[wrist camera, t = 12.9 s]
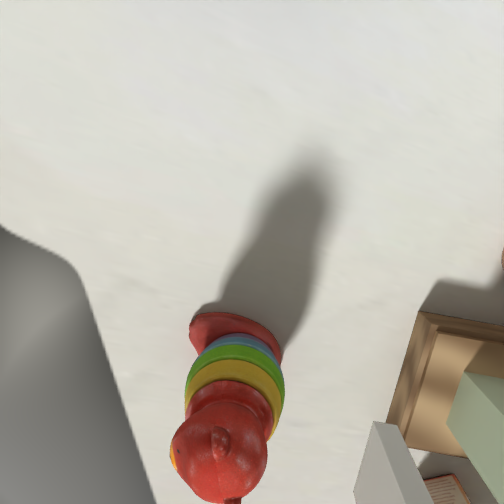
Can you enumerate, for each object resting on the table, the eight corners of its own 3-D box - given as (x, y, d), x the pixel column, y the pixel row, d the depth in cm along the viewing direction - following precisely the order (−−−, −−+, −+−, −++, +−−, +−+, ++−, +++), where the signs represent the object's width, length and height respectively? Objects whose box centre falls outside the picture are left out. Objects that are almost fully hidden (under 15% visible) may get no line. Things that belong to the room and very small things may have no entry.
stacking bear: (187, 312, 43) (130, 416, 25) (280, 309, 42) (287, 413, 25) (196, 400, 45) (150, 549, 28) (284, 398, 45) (292, 549, 27)
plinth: (418, 310, 41) (433, 326, 37) (549, 334, 41) (578, 352, 37) (385, 424, 45) (396, 449, 41) (506, 446, 45) (529, 473, 41)
